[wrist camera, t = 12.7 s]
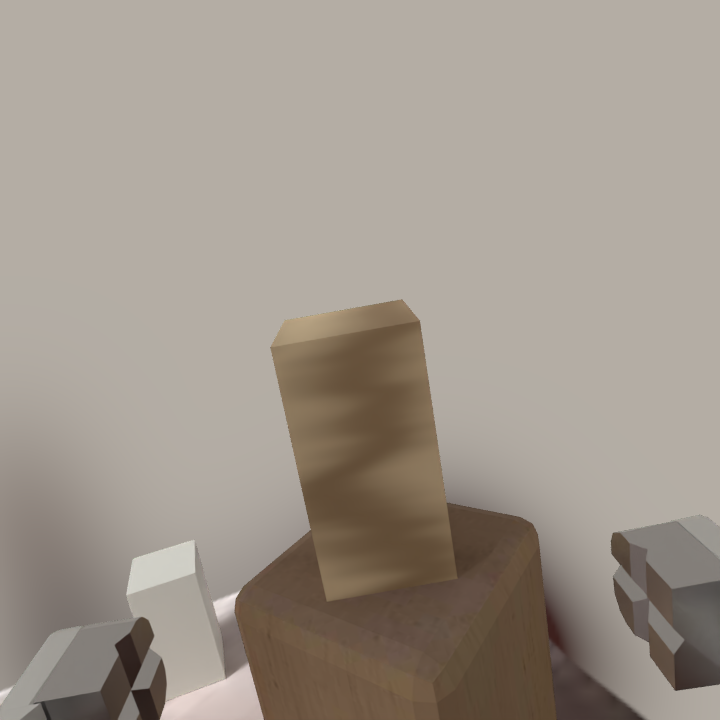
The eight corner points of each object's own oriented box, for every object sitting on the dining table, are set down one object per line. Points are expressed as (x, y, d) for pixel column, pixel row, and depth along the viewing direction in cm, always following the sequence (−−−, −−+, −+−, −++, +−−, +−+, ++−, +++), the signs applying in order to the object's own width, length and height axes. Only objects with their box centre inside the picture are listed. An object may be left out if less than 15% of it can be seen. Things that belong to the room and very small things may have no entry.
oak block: (326, 601, 20) (270, 347, 18) (328, 528, 25) (284, 320, 23) (457, 579, 20) (419, 320, 18) (434, 509, 25) (402, 299, 23)
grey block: (161, 703, 42) (126, 595, 40) (164, 657, 47) (132, 558, 44) (225, 678, 43) (195, 572, 41) (222, 636, 48) (194, 539, 46)
